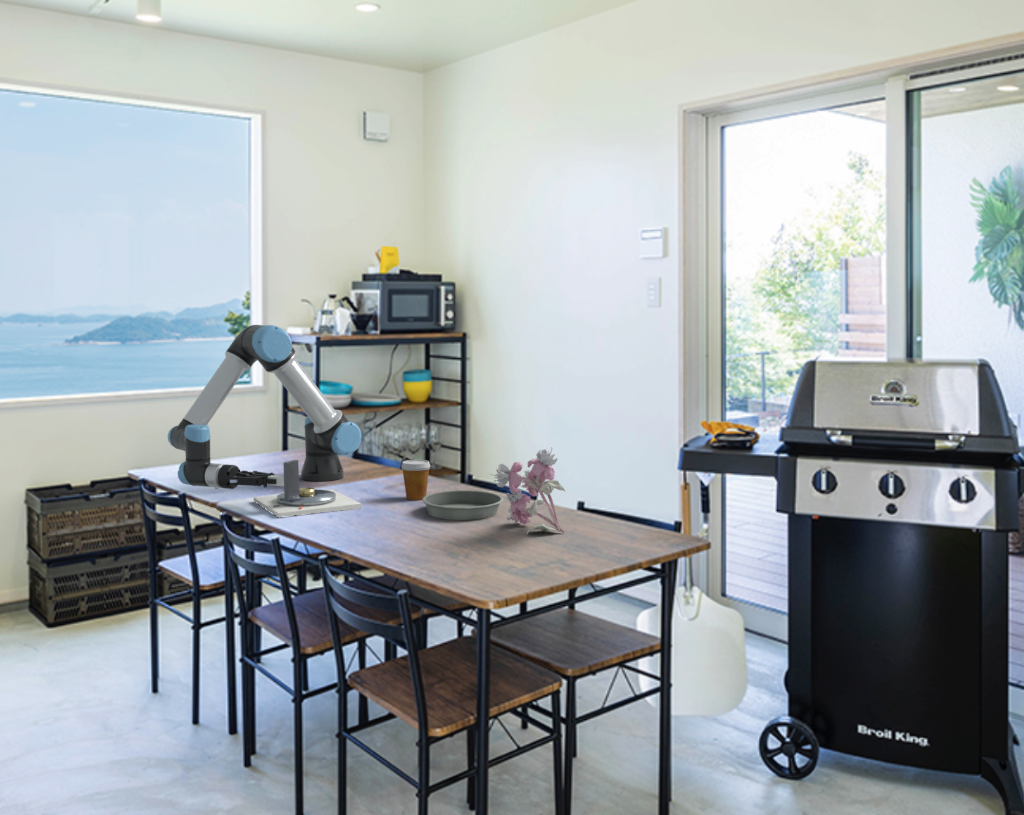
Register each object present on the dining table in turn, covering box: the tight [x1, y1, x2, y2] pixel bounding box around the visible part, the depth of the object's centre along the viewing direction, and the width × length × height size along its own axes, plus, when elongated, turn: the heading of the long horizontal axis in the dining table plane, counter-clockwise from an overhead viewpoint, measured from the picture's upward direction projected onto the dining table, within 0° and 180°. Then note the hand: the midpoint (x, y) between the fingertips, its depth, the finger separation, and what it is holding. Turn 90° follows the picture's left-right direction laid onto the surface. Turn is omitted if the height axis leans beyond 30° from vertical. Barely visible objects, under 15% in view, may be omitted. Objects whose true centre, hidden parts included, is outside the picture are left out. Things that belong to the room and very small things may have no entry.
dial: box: [277, 459, 336, 506], centre depth 293 cm, size 20×18×13 cm
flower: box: [489, 447, 566, 535], centre depth 264 cm, size 20×22×25 cm
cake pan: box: [422, 489, 504, 521], centre depth 286 cm, size 25×25×4 cm
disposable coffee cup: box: [400, 459, 431, 501], centre depth 305 cm, size 10×10×12 cm
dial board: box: [253, 489, 362, 518], centre depth 295 cm, size 26×26×2 cm
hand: (287, 481), depth 287 cm, fingers closed, pressing on dial
